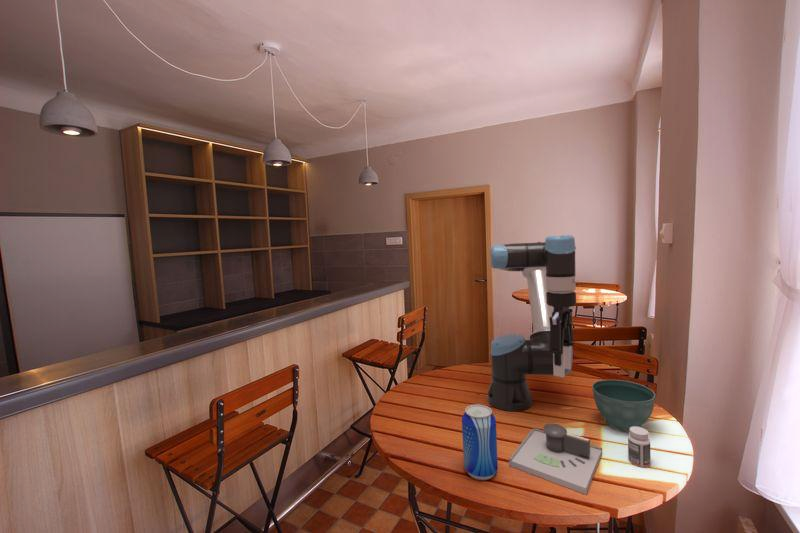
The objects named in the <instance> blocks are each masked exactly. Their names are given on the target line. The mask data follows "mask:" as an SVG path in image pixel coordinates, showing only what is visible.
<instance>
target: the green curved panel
mask: <svg viewBox="0 0 800 533" xmlns="http://www.w3.org/2000/svg"><path fill="white" fill-rule="evenodd" d="M579 456H581V457H584V458H587V459H589V458H590V457H586V456H583V455H579ZM534 459H535V460H537V461H539V462H541V461H542V462H541V463H543V464H546V465H550V464H551V466H553V467H558V468H559V460H558V459H553V458H550V457H547V456H545V455H543V454H541V453H540V454H539V455H537V456H536V457H534ZM575 459H576V460H577V461H579V462H581V463H583V464H585V462H584V461H582V460H580V459H578V458H575ZM568 461H569V462H570V463H571V464H572V465H573V466H574V467H577V465H576V464H574V463H573V462H572V461H571V460H568ZM560 462H561V464H562V466H563V467H566V466H565V464H564V462H563V461H561V460H560Z"/></svg>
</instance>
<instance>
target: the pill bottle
mask: <svg viewBox="0 0 800 533" xmlns="http://www.w3.org/2000/svg"><path fill="white" fill-rule="evenodd" d="M627 449H628V450H627V452H628V454H627V458H628V461H629V462H630V463H631V464H632V465H635V466H637V467H640V468H647V467H650V466H651V462H652V460H651V440H650V438H649V431H648V430H647V429H646V428H643V427H642V428H641V427H636V426H633V427H630V430H629V432H628V436H627Z"/></svg>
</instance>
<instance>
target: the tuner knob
mask: <svg viewBox="0 0 800 533" xmlns="http://www.w3.org/2000/svg"><path fill="white" fill-rule="evenodd" d="M543 431H544V433H545V434H546V447H547V448H548V449H549V450H551V451H553V452H563V451H564V450H567V451H570V452H573V453H576V454H579V455H583V456H586V457H589V456H590V445H591V439H588V438H585V437H582V436H578V435H576V434H575V435H574V434H572V433H568V429H567V428H566V427H564V426H563V425H560V424H557V423H546V424H545V425H544V426H543Z"/></svg>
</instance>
